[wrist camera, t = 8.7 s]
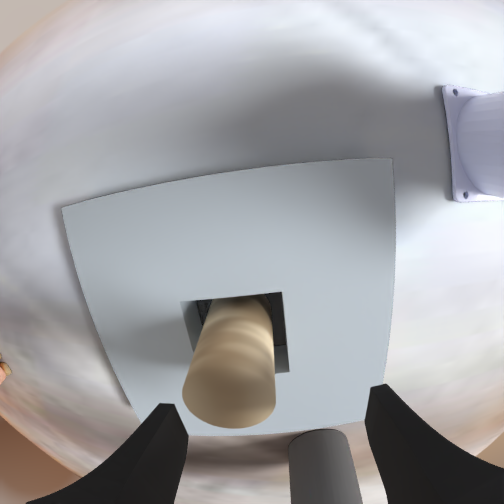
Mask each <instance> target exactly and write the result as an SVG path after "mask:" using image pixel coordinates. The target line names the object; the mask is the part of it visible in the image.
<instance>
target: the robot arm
mask: <svg viewBox="0 0 504 504" xmlns="http://www.w3.org/2000/svg"><path fill="white" fill-rule="evenodd" d="M453 91H454V92H455V95H454V94H453ZM442 93H443V99H444V105H445V111H446V117H447V124H448V132H449V141H450V152H451V165H452V186H453V198H454V200H455V201H456V202H460V203H461V202H477V201H495V200H504V92H498V93H493V94H490V93H486V92H482V91H478V90H473V89H468V88H464V87H459V86H453V85H445V86H443V88H442ZM464 192H465V197H463V193H464ZM365 426H366V431H367V436H368V440H369V444H370V447H371V450H372V453H373V456H374V458H375V461H376V464H377V467H378V470H379V473H380V476H381V479H382V482H383V484H384V488H385V491H386V495H387V500H388V504H504V468H501V467H498V466H495V465H493V464H490V463H488V462H486V461H484V460H481V459H479V458H477V457H475V456H473V455H471V454H469V453H468V452H466V451H464V450H463V449H461V448H459V447H458V446H456V445H455V444H453V443H452V442H450V441H449V440H447V439H446V438H445V437H443V436H442V435H441V434H439V433H438V432H437V431H436V430H434V429H433V428H432V427H431V426H429V425H428V424H427V423H426V422H425V421H424V420H423V419H422V418H420V417H419V416H418V415H417V414H416V413H415V412H414V411H413V410H412V409H411V408H410V407H409V406H408V405H407V404H406V403H405V402H404V401H403V400H402V399H401V398H400V397H399V396H398V395H397V394H396V393H395V392H394V391H393V390H392V389H391V388H390V387H389V386H388V385H387V384H382V385H378V386H373V387H370V394H369V399H368V405H367V410H366V416H365ZM188 437H189V435H188V433H187V431H186V429H185V426H184V424H183V422H182V420H181V418H180V415H179V413H178V411H177V409H176V406H175V404H171V403H159V404H158V405H157V406H156V408H155V409H154V410H153V411H152V412H151V413H150V414H149V416H148V417H147V418H146V419H145V420H144V421H143V423H142V424H141V425H140V426H139V427H138V428H137V429H136V431H135V432H134V433H133V434H132V435H131V436H130V437H129V438H128V439H127V440H126V441H125V442H124V443H123V444H122V445H121V446H120V447H119V448H118V449H117V450H116V451H115V452H114V453H113V454H112V455H111V456H110V457H109V458H108V459H106V460H105V461H104V462H103V463H102V464H101V465H99V466H98V467H97V468H95V469H94V470H93V471H91V472H90V473H88V474H87V475H86V476H84V477H82V478H81V479H79V480H78V481H76V482H74V483H73V484H71V485H69V486H67V487H65V488H63V489H61V490H59V491H57V492H55V493H52V494H50V495H47V496H45V497H42V498H39V499H36V500H32V501H29V502H27V503H26V504H174V500H175V496H176V493H177V489H178V485H179V482H180V478H181V474H182V471H183V467H184V463H185V459H186V454H187V446H188Z"/></svg>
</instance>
